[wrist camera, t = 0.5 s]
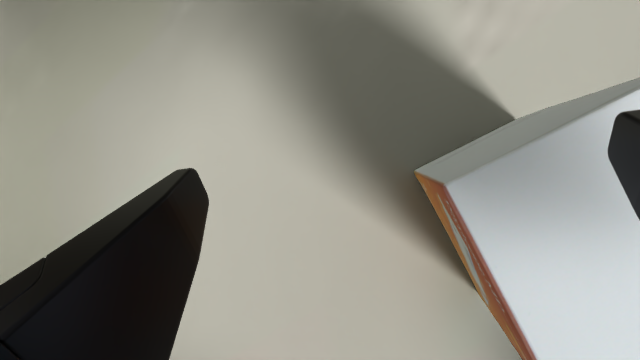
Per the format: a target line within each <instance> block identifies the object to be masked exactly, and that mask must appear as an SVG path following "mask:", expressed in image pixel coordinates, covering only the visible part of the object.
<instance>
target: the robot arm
mask: <svg viewBox="0 0 640 360" xmlns="http://www.w3.org/2000/svg"><path fill="white" fill-rule="evenodd" d="M608 158H609V161H610V163H611V165H612V167H613V169H614V171H615V173H616V175H617V177H618V179H619V181H620V183H621V185H622V187H623V189H624V191H625V193H626V195H627V197H628V199H629V201H630V203H631V205H632V207H633V209H634V211H635V213H636V215H637V217H638V219H639V220H640V109H639V110H632V111H624V112H621V113H619V114H618V115H617V116H616V118H615V120H614V124H613V128H612V132H611V136H610V141H609V145H608ZM208 206H209V199H208V195H207V193H206V190H205V188H204V186H203V184H202V181H201V179H200V177H199V175H198V173H197V171H196V170H195V169H193V168H187V169H180V170H176V171H174V172H173V173H171V174H170V175H168V176H167V177H165V178H164V179H162V180H161V181H159V182H158V183H156V184H155V185H153V186H151V187H150V188H148V189H147V190H145V191H144V192H142V193H141V194H139V195H138V196H136V197H135V198H133V199H132V200H130V201H129V202H127V203H126V204H124V205H123V206H121V207H120V208H118V209H117V210H115V211H113V212H112V213H110V214H109V215H107V216H106V217H104V218H103V219H101V220H100V221H98V222H97V223H95V224H94V225H92V226H91V227H89V228H88V229H86V230H85V231H83V232H82V233H80V234H78V235H77V236H75V237H74V238H72V239H71V240H69V241H68V242H66V243H65V244H63V245H62V246H60V247H59V248H57V249H56V250H54V251H53V252H51V253H50V254H48V255H47V256H46V258H42V259H40V260H39V261H37V262H36V263H34V264H33V265H31V266H30V267H28V268H27V269H25V270H24V271H22V272H20V273H19V274H17V275H16V276H14V277H13V278H11V279H9V280H8V281H6V282H5V283H3V284H2V285H0V360H169V358H170V355H171V351H172V348H173V345H174V341H175V338H176V335H177V331H178V328H179V325H180V321H181V318H182V315H183V311H184V308H185V305H186V301H187V298H188V295H189V291H190V288H191V285H192V281H193V278H194V275H195V271H196V268H197V264H198V260H199V256H200V252H201V246H202V241H203V235H204V229H205V224H206V218H207V212H208Z"/></svg>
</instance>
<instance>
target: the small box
mask: <svg viewBox="0 0 640 360" xmlns="http://www.w3.org/2000/svg"><path fill="white" fill-rule="evenodd" d="M639 109H640V78H637V79H634V80H631V81H628V82H625V83H622V84H619V85H616V86H613V87H610V88H607V89H604V90H601V91H598V92H595V93H592V94H589V95H586V96H583V97H580V98H577V99H574V100H571V101H567V102H564V103H561V104H558V105H555V106H552V107H548V108H545V109H543V110H540V111H537V112H534V113H532V114H529V115H526V116H524V117H521V118H518V119H516V120H514V121H512V122H510V123H508V124H506V125H504V126H502V127H500V128H498V129H496V130H494V131H492V132H490V133H488V134H486V135H484V136H482V137H480V138H478V139H476V140H474V141H472V142H470V143H468V144H466V145H464V146H462V147H460V148H458V149H456V150H454V151H452V152H450V153H448V154H446V155H444V156H442V157H440V158H438V159H436V160H434V161H432V162H430V163H428V164H426V165H424V166H422V167H420V168H418V169H416V170H415V171H414V174H415V176H416V177H417V179H418V181H419V182H420V184H421V186H422V187H423V189H424V191H425V193H426V194H427V196H428V198H429V200H430V202H431V204H432V205H433V207H434V209H435V211H436V213H437V215H438V217H439V218H440V220H441V222H442V224H443V226H444V228H445V230H446V231H447V233H448V235H449V237H450V239H451V241H452V243H453V245H454V247H455V249H456V251H457V253H458V254H459V256H460V258H461V260H462V262H463V264H464V266H465V268H466V270H467V272H468V274H469V276H470V278H471V280H472V281H473V283H474V285H475V287H476V290H477V292H478V294H479V295H480V297H481V298H482V300H483V301H484V302H485V304H486V305H487V307H488V309H489V310H490V312H491V313H492V315H493V316H494V317H495V319H496V320H497V322H498V323H499V324H500V326H501V328H502V329H503V331H504V332H505V334H506V335H507V337H508V339H509V340H510V342H511V343H512V345H513V346H514V347H515V349H516V350H517V352H518V353H519V355H520V356H521V358H522V360H640V220H639V219H638V217H637V215H636V213H635V211H634V209H633V207H632V205H631V203H630V201H629V199H628V197H627V195H626V193H625V191H624V189H623V187H622V185H621V183H620V181H619V179H618V177H617V175H616V173H615V171H614V169H613V167H612V165H611V163H610V161H609V158H608V145H609V141H610V136H611V132H612V128H613V124H614V120H615V118H616V116H617V115H618V114H619V113H621V112H624V111H632V110H639Z"/></svg>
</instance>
